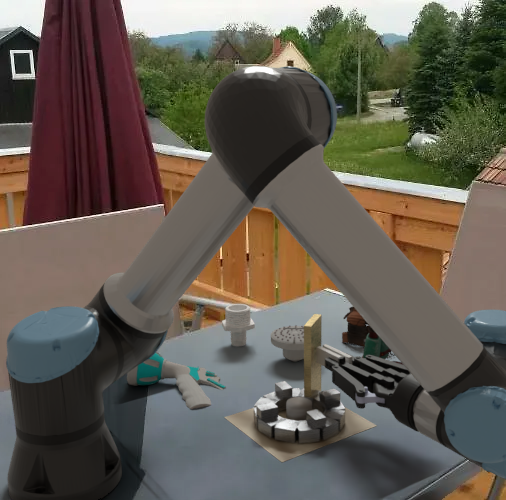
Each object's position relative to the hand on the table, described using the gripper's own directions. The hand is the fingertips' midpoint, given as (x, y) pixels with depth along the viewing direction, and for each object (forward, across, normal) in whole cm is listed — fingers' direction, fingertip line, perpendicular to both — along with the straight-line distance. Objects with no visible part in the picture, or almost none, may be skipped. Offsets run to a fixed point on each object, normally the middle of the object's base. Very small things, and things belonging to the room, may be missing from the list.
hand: (321, 353), depth 109 cm
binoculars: (+3, +18, -10) cm, 21 cm away
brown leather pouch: (+19, +27, -10) cm, 34 cm away
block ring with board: (-2, -6, -8) cm, 10 cm away
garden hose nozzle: (+20, -16, -10) cm, 28 cm away
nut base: (-3, -7, -10) cm, 13 cm away
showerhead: (+17, +7, -10) cm, 21 cm away
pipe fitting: (+33, +4, -10) cm, 34 cm away
